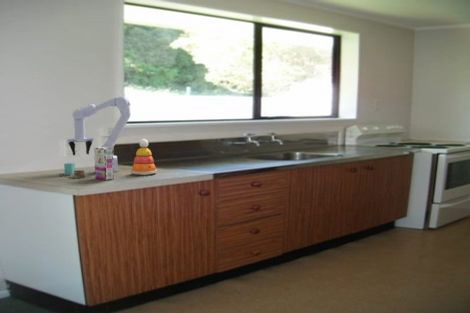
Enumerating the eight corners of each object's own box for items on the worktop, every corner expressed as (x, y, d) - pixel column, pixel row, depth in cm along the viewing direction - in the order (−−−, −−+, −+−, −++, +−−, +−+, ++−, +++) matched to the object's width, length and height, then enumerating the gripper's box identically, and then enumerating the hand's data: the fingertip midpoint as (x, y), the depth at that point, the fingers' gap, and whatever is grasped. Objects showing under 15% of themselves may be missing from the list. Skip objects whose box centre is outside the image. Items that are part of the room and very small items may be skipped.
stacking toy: (145, 176, 259) (144, 140, 257) (125, 174, 266) (124, 139, 264) (162, 173, 272) (161, 138, 269) (142, 171, 279) (141, 137, 276)
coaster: (77, 173, 274) (77, 172, 274) (78, 175, 265) (78, 174, 265) (60, 174, 271) (60, 173, 271) (60, 176, 262) (60, 175, 262)
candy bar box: (114, 179, 251) (113, 147, 249) (105, 180, 247) (104, 148, 246) (103, 177, 259) (102, 146, 257) (94, 178, 255) (93, 147, 253)
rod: (82, 177, 261) (82, 172, 261) (82, 177, 259) (81, 173, 259) (71, 177, 261) (71, 172, 260) (70, 178, 258) (70, 173, 258)
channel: (84, 175, 264) (83, 170, 264) (84, 177, 258) (84, 172, 258) (74, 176, 263) (74, 170, 262) (74, 178, 256) (74, 172, 256)
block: (74, 173, 270) (74, 162, 269) (71, 174, 266) (71, 163, 265) (68, 173, 270) (67, 162, 269) (64, 174, 266) (64, 163, 265)
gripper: (68, 131, 269) (69, 156, 270) (94, 130, 277) (95, 154, 278) (65, 131, 274) (66, 155, 276) (90, 130, 282) (91, 153, 284)
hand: (80, 154), depth 278 cm, fingers open, 7 cm apart
